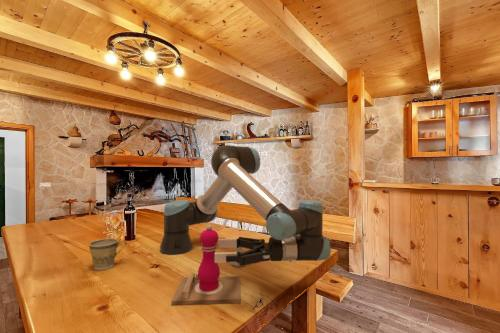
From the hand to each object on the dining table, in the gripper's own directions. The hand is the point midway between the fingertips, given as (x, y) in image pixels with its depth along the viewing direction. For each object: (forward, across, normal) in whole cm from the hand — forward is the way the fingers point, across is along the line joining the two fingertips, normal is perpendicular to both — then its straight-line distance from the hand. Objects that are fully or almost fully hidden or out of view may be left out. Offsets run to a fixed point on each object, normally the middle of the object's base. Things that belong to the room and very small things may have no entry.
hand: (216, 249), depth 78 cm
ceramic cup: (+45, +22, -14) cm, 52 cm away
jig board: (+2, +1, -14) cm, 14 cm away
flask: (-8, +22, -14) cm, 27 cm away
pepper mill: (+2, +1, -12) cm, 13 cm away
